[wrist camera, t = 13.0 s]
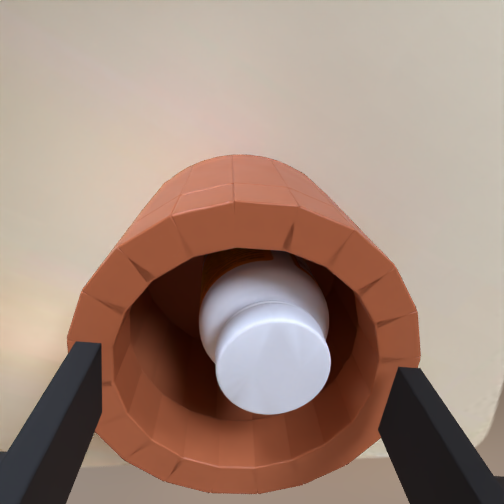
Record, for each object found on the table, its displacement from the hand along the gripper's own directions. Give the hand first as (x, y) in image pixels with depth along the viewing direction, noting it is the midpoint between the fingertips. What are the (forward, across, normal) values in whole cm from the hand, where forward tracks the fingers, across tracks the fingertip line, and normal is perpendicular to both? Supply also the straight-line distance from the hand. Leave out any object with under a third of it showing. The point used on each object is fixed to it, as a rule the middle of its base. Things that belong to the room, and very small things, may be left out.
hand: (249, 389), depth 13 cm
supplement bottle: (+10, 0, 0) cm, 10 cm away
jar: (+11, 0, 0) cm, 11 cm away
